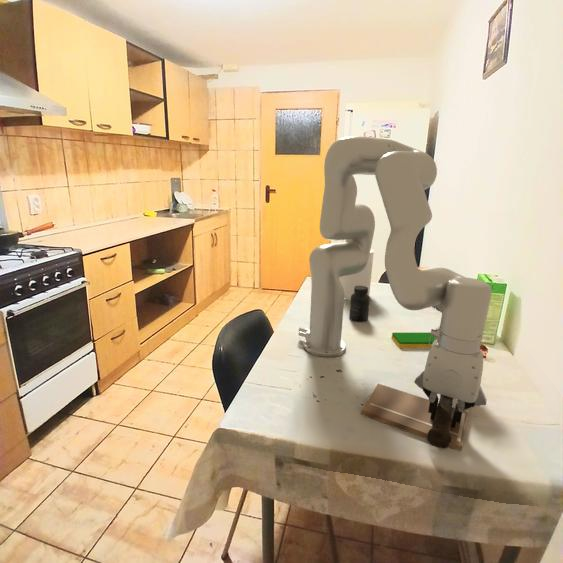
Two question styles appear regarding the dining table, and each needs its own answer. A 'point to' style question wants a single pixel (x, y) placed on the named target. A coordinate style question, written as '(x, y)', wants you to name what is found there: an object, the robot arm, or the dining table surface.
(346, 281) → the canister
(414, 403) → the board
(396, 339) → the dish sponge
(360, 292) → the supplement bottle
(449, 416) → the hand tool
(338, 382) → the dining table surface
